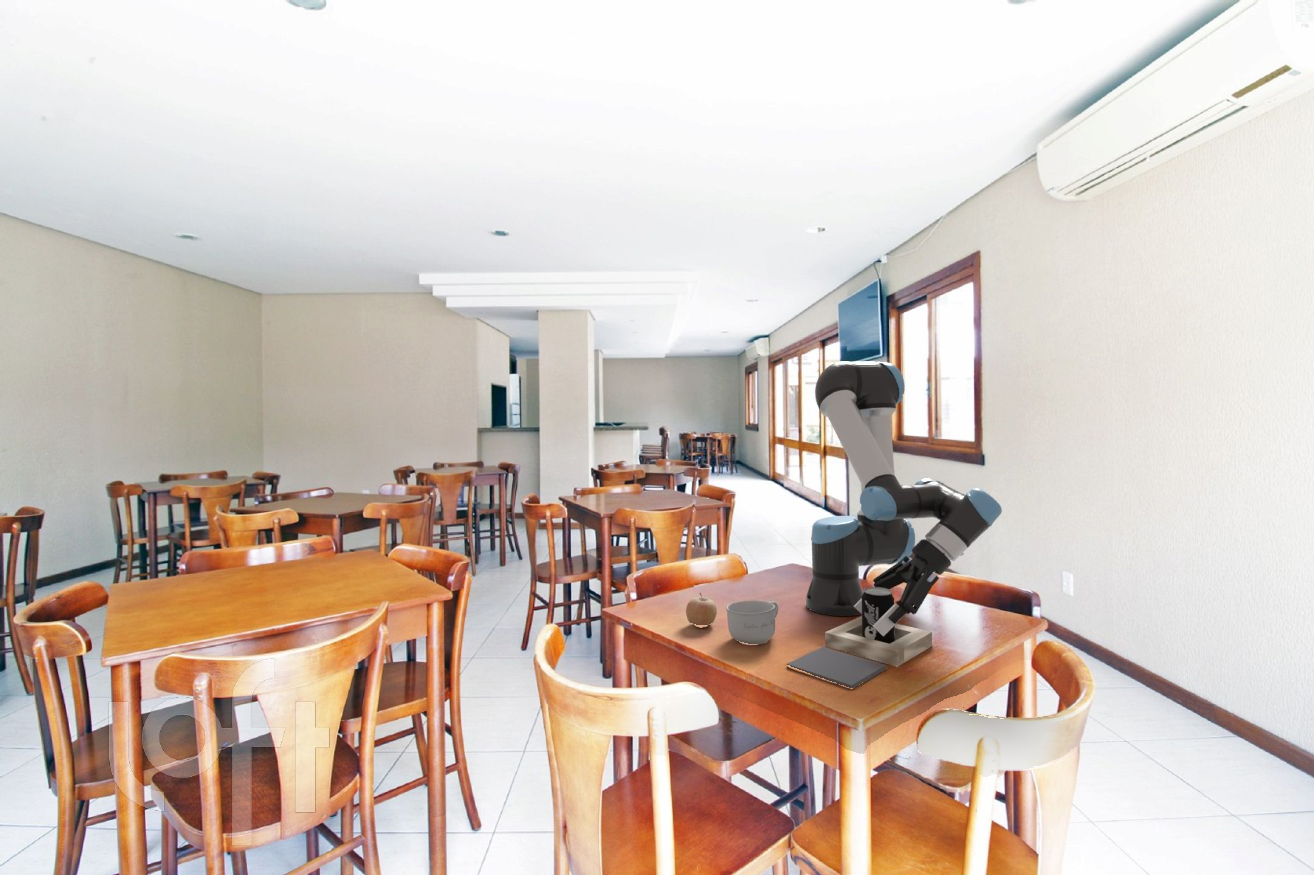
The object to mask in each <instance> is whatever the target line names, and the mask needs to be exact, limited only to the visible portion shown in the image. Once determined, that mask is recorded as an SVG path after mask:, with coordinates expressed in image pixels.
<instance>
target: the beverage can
mask: <svg viewBox="0 0 1314 875" xmlns="http://www.w3.org/2000/svg"><path fill="white" fill-rule="evenodd" d="M894 604H895V598H894V596H893V591H892V590H891V589H886V588H881V587H873V586H870V587H865V588H863V595H862V614H861V616H862V637H865V638H869V639H873V640H876V641H880V642H884V643H888V644H890V643H892V642H894V641H895V625H894V626H893V627H892V628H891V629H890V630H889V631H888V632H887V633H886V634H885V635H884V636H882V635H881V634H880V633H879V632H878V631H877V630H876V629H875V628H874V627H873V625H874V624H875V623H876V622H877V621H878V620H879V619H880V618H881V617H882V616H883V615H884V614H885V613H886V612H887V611H888V610H889V609H890V608H891V607H892V606H893V605H894Z"/></svg>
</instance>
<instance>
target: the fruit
mask: <svg viewBox="0 0 1314 875" xmlns="http://www.w3.org/2000/svg"><path fill="white" fill-rule="evenodd" d="M699 595H700V596H696V597H694V598H692V599H690V600H689V601H688V603H687V605H686V607H685V616H686V619H687V621H688V623H689V624H690V623H693V624H696V625H709V624H711V623H712V624H713V623H714V622H715V620H716V618H717V614H718V613H717V612H718V608H717V605H716V603H715V602H714V601H713V599H710V597H705V596H702V593H701V592H699ZM712 624H711V625H712Z"/></svg>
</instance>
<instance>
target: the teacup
mask: <svg viewBox="0 0 1314 875" xmlns="http://www.w3.org/2000/svg"><path fill="white" fill-rule="evenodd" d="M725 610H726V617H727V627H728V631H729V634H730V636H731V638H732V639H734V640H736V641H737V640H738V641H740V642H744V643H748V644H761V645H763V644H762V643H764V644H766V643H768V642H769V640H770V639H771V638H772V637H774V635H775V633H776V617H777V615H778V613H779V605H778V603H777V602H776V601H774V600H768V601H766V600H764V601H763V600H754V599H753V600H742V601H741V600H740V601H733V602H731V603H729V604H727V605H726V608H725ZM765 642H766V643H765Z"/></svg>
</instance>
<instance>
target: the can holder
mask: <svg viewBox="0 0 1314 875" xmlns="http://www.w3.org/2000/svg"><path fill="white" fill-rule="evenodd" d="M825 645H826V646H828V647H827V648H830V647H832V648H831V649H833V648H836V649H835V650H837V649H838V650H837V651H840V650H842V651H841V652H844V651H846V652H845V653H847V652H848V653H847V654H851V653H852V654H851V655H854V654H855V655H854V656H857V657H860V658H864V657H865V658H864V659H867V660H871V661H874V662H878V661H879V662H878V663H881V664H884V665H890V666H892V665H893V667H896V668H897V667H899V666H901V665H903V664H904V663H906V662H908V661H909V660H911V659H913V658H915V657H916V656H918V655H919V654H921V653H923V652H925V651H926V650H927V649H930V648H931V647H933V632H932V631H929V630H926V629H921V628H916V627H913V626H908V625H904V624H900V623H896V624H895V641H894V642H892V643H890V644H888V643H884V642H880V641H876V640H873V639H869V638H865V637H862V615H860V616H858V617H856V618H853V620H849V621H847V622H845V623H843V624H840V625H838V626H836V627H834V628H831V629H830V630H826V631H825V632H824V646H825ZM826 646H825V647H826Z"/></svg>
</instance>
